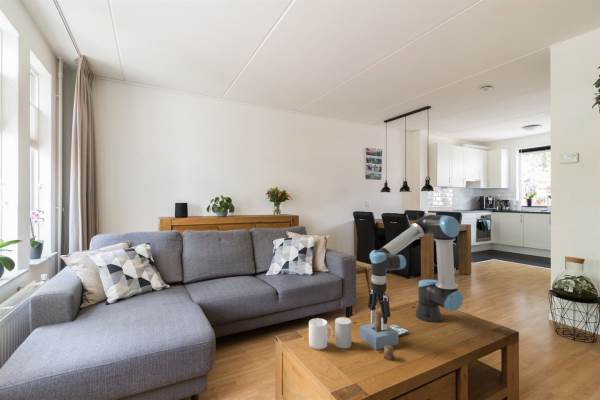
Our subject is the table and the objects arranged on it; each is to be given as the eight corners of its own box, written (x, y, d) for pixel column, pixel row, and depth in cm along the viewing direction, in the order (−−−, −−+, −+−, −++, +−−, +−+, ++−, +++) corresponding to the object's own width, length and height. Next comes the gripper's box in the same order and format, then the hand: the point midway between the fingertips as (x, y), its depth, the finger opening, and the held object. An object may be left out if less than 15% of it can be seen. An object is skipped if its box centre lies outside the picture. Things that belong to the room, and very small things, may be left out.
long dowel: (379, 338, 152) (379, 311, 152) (384, 341, 148) (384, 314, 148) (372, 339, 151) (372, 313, 150) (377, 343, 147) (377, 315, 147)
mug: (305, 342, 147) (305, 320, 147) (326, 338, 152) (326, 316, 152) (313, 351, 139) (313, 327, 138) (335, 347, 143) (335, 323, 143)
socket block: (380, 332, 159) (380, 321, 159) (398, 344, 146) (398, 332, 146) (359, 337, 153) (359, 325, 153) (376, 349, 140) (376, 337, 140)
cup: (341, 338, 152) (341, 316, 151) (354, 344, 146) (354, 320, 146) (331, 344, 146) (331, 320, 146) (344, 350, 140) (344, 325, 140)
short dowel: (389, 354, 136) (389, 344, 136) (395, 359, 132) (395, 348, 132) (382, 356, 134) (382, 346, 134) (388, 361, 131) (388, 350, 131)
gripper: (361, 278, 157) (360, 319, 158) (386, 289, 138) (386, 336, 138) (372, 276, 160) (372, 317, 160) (398, 287, 141) (398, 333, 141)
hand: (378, 325), depth 149 cm, fingers open, 8 cm apart
